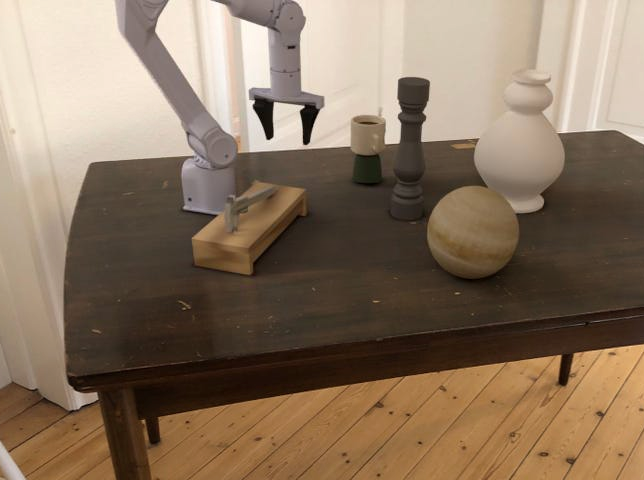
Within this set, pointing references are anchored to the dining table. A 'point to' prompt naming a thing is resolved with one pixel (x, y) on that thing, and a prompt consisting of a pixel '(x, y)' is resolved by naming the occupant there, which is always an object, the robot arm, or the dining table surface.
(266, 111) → the robot arm
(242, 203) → the caliper
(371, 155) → the character mug
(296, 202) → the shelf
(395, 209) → the candle holder
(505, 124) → the decorative vase
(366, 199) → the dining table surface
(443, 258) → the decorative ball
